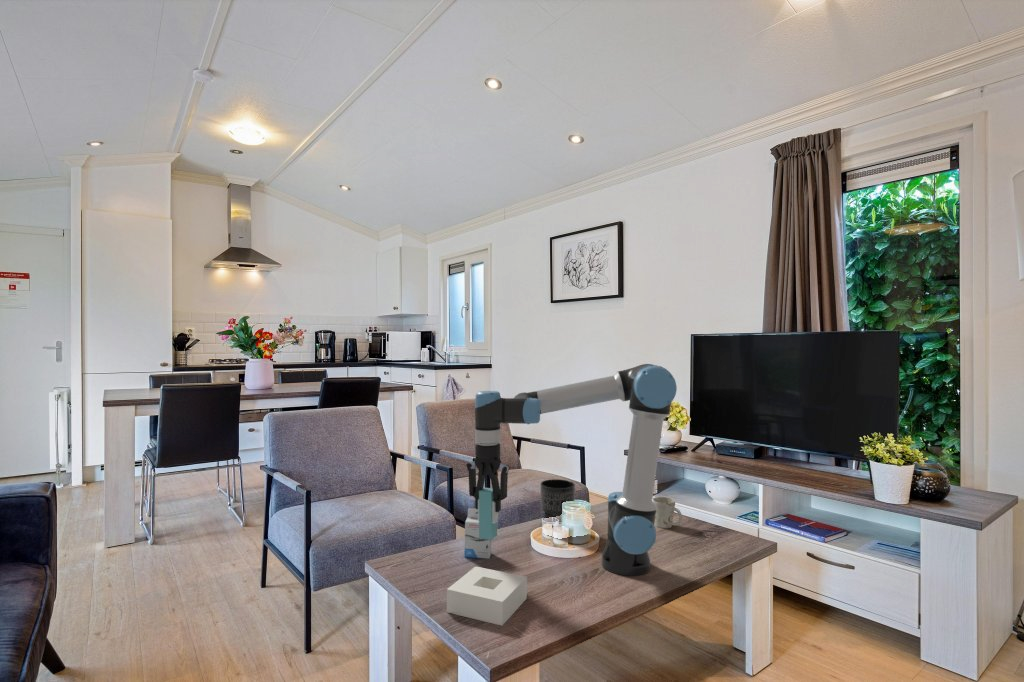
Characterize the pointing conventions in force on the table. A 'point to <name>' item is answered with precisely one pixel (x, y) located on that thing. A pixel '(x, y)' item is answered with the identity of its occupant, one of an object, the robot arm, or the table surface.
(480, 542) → the ink box
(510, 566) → the table surface
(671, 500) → the mug
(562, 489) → the planter
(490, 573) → the socket block
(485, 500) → the post
